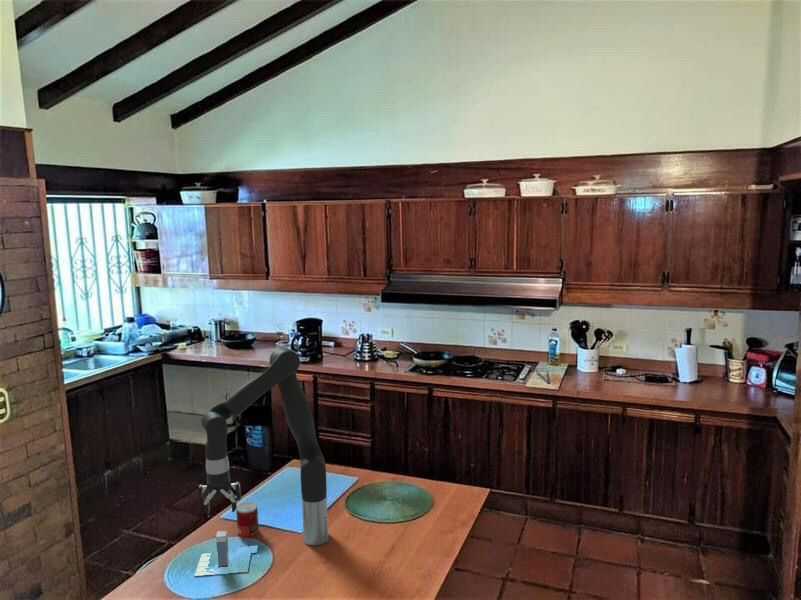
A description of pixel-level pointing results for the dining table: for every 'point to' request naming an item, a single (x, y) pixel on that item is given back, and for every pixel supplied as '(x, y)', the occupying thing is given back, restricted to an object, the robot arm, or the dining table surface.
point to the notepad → (204, 566)
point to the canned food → (247, 519)
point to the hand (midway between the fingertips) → (221, 512)
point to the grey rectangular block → (222, 549)
